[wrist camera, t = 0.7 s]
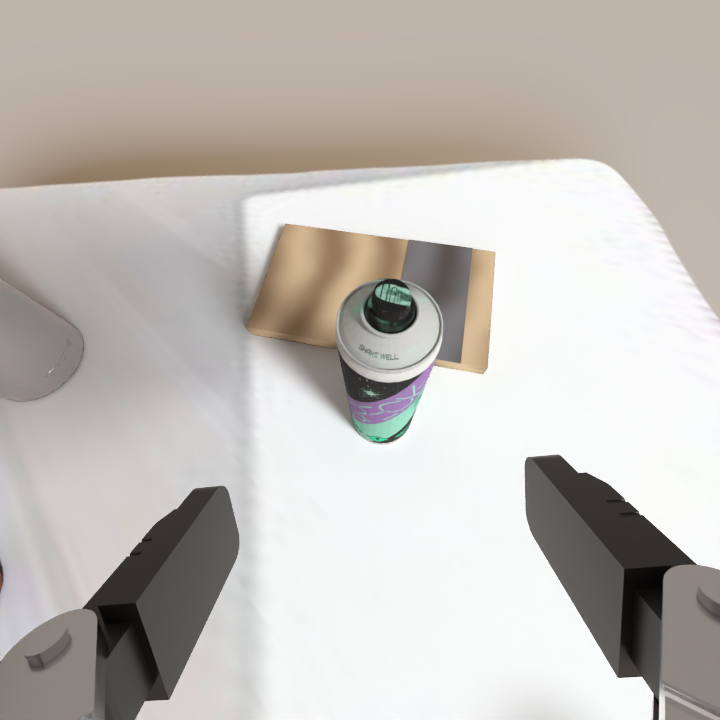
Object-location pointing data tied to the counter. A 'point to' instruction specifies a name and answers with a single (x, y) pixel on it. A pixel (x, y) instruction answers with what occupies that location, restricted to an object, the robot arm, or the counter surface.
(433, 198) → the counter surface
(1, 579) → the supplement bottle
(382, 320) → the spray can
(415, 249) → the plywood panel
